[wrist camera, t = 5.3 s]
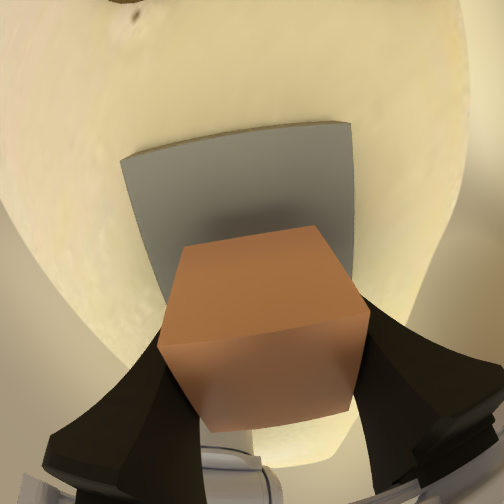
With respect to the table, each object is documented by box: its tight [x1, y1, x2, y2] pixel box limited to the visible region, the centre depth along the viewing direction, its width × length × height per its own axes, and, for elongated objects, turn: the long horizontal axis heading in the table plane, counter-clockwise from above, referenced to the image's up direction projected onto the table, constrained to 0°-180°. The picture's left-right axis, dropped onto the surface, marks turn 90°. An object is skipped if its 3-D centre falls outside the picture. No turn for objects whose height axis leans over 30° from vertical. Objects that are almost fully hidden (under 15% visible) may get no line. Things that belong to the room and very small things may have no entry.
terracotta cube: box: [157, 225, 370, 433], centre depth 9 cm, size 5×5×5 cm
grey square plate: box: [120, 121, 354, 305], centre depth 17 cm, size 12×12×3 cm
